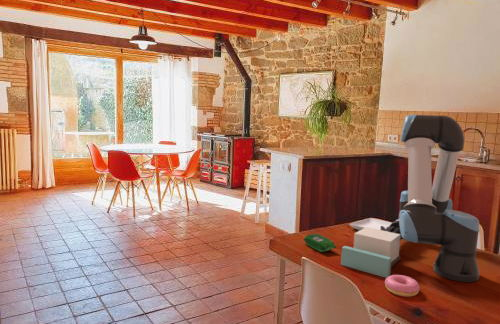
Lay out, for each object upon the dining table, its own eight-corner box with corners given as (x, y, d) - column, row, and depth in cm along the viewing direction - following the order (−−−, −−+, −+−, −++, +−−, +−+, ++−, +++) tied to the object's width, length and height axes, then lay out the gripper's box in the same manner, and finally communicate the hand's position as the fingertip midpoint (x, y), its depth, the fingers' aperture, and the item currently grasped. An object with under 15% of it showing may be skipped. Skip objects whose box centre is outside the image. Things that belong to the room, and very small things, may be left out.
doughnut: (407, 302, 122) (408, 289, 122) (377, 288, 131) (378, 276, 131) (425, 293, 129) (427, 281, 128) (396, 281, 138) (397, 269, 137)
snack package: (323, 256, 159) (324, 243, 159) (301, 243, 173) (302, 232, 173) (337, 254, 163) (338, 241, 162) (314, 242, 176) (315, 231, 176)
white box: (398, 256, 155) (400, 234, 154) (388, 264, 145) (390, 241, 144) (364, 247, 163) (366, 226, 162) (352, 255, 154) (354, 233, 153)
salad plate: (369, 222, 212) (370, 216, 212) (407, 232, 197) (408, 225, 196) (347, 229, 198) (348, 223, 198) (386, 240, 183) (387, 233, 182)
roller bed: (400, 260, 157) (400, 254, 157) (385, 273, 144) (386, 267, 143) (366, 251, 166) (366, 246, 165) (349, 263, 152) (350, 257, 152)
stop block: (389, 276, 141) (391, 257, 140) (387, 278, 139) (389, 259, 138) (343, 262, 152) (344, 245, 151) (340, 264, 150) (342, 247, 149)
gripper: (414, 239, 174) (397, 253, 155) (385, 233, 182) (365, 245, 163) (415, 223, 173) (398, 235, 154) (386, 217, 181) (366, 228, 162)
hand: (381, 240), depth 159 cm, fingers closed
